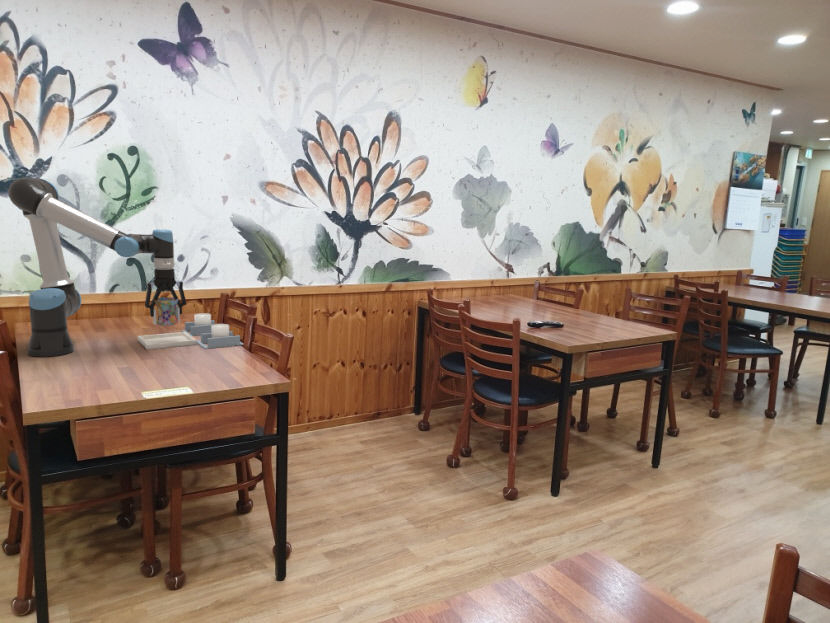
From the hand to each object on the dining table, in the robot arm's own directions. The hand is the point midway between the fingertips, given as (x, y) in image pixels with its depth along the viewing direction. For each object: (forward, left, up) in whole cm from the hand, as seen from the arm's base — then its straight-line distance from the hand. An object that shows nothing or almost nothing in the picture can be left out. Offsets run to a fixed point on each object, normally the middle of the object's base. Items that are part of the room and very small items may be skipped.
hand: (166, 323), depth 250 cm
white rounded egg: (+18, -11, -8) cm, 23 cm away
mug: (0, 0, -1) cm, 1 cm away
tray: (0, 0, -8) cm, 8 cm away
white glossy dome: (+18, +14, -8) cm, 24 cm away
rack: (+18, +1, -8) cm, 20 cm away
